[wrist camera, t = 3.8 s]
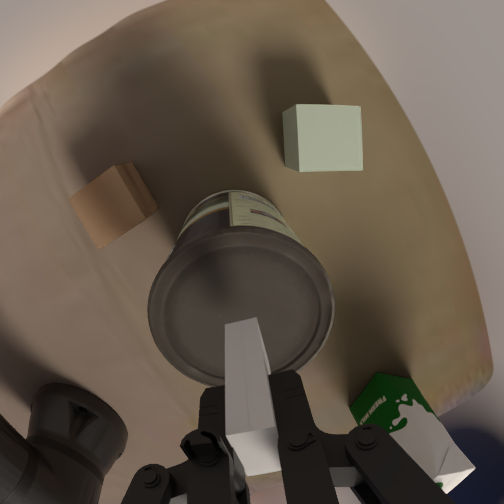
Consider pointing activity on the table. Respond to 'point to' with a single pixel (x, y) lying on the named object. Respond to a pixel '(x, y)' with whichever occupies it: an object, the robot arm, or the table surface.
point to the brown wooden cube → (113, 203)
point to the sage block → (323, 138)
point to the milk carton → (412, 427)
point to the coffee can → (239, 288)
